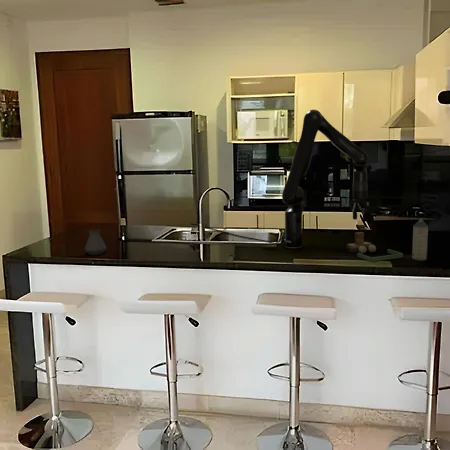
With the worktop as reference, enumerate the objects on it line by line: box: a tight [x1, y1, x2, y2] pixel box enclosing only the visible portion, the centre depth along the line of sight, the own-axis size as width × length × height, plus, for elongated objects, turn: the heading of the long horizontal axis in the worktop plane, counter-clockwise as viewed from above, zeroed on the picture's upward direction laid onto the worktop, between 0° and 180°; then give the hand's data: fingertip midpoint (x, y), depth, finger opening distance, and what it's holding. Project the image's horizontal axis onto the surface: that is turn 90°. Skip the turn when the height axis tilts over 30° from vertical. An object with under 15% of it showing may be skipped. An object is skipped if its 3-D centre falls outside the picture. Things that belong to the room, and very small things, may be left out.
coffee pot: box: [84, 221, 107, 256], centre depth 294 cm, size 21×12×15 cm, turn 2°
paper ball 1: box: [358, 246, 368, 255], centre depth 276 cm, size 4×4×4 cm
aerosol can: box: [411, 218, 429, 262], centre depth 260 cm, size 7×7×20 cm
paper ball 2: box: [367, 244, 377, 253], centre depth 278 cm, size 4×4×4 cm
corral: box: [356, 248, 404, 262], centre depth 268 cm, size 12×19×2 cm, turn 112°
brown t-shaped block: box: [345, 231, 373, 253], centre depth 283 cm, size 5×13×10 cm, turn 112°
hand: (359, 220), depth 280 cm, fingers open, 8 cm apart
